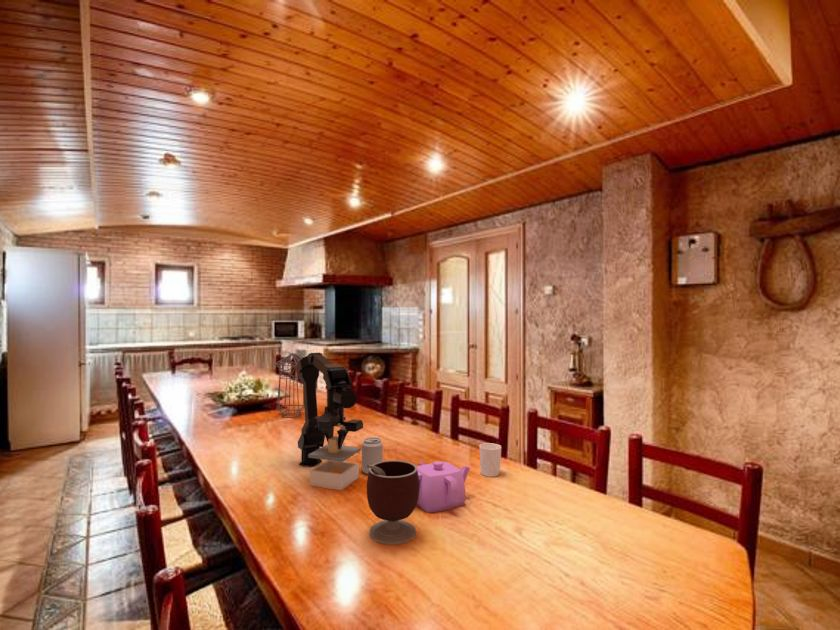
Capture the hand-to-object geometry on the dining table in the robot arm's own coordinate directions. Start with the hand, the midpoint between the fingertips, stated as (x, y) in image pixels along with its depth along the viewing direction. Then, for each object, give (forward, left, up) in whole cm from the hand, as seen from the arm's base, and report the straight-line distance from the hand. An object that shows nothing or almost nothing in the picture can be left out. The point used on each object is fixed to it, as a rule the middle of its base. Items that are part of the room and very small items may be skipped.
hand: (335, 448), depth 154 cm
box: (0, 0, -11) cm, 11 cm away
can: (+8, +13, -12) cm, 19 cm away
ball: (0, 0, -9) cm, 9 cm away
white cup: (+49, +26, -12) cm, 57 cm away
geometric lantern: (-71, +77, -12) cm, 105 cm away
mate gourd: (+32, -27, -12) cm, 43 cm away
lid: (0, 0, -2) cm, 2 cm away
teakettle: (+38, -3, -12) cm, 40 cm away
